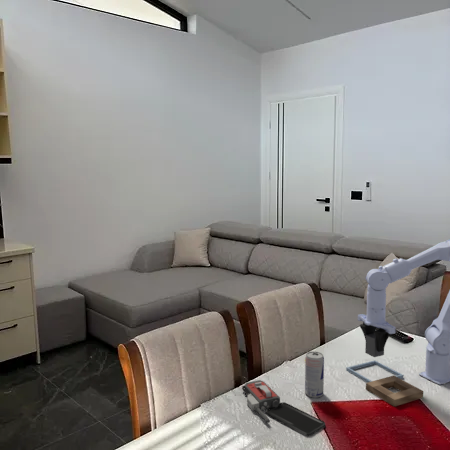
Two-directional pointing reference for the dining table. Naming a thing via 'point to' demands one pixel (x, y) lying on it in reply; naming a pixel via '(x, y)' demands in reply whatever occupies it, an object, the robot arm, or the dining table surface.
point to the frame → (351, 368)
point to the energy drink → (314, 374)
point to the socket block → (395, 399)
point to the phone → (295, 419)
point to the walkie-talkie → (260, 397)
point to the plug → (372, 346)
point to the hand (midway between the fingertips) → (375, 348)
